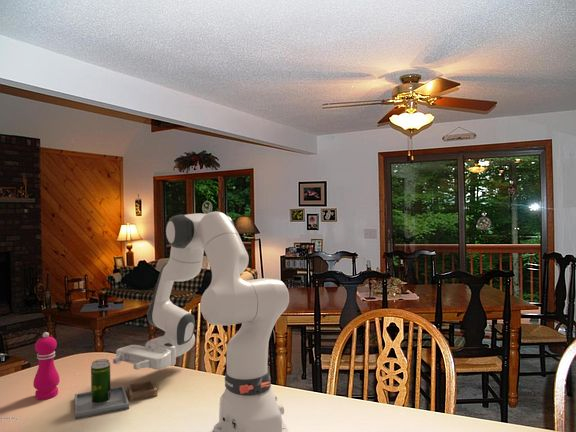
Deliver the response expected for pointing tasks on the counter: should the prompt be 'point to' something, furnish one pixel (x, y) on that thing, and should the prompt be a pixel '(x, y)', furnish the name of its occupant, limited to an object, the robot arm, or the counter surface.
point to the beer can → (100, 382)
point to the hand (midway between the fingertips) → (124, 364)
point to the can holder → (143, 393)
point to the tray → (87, 408)
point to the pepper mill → (46, 368)
